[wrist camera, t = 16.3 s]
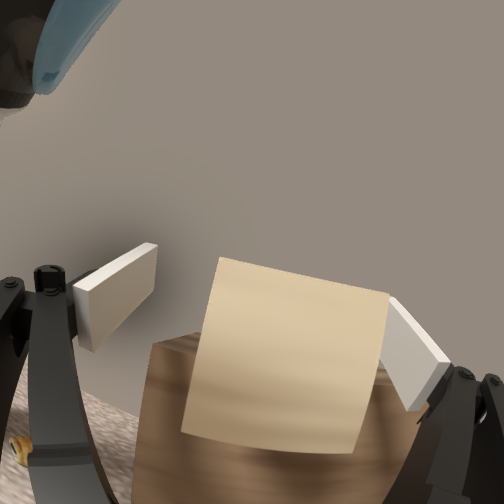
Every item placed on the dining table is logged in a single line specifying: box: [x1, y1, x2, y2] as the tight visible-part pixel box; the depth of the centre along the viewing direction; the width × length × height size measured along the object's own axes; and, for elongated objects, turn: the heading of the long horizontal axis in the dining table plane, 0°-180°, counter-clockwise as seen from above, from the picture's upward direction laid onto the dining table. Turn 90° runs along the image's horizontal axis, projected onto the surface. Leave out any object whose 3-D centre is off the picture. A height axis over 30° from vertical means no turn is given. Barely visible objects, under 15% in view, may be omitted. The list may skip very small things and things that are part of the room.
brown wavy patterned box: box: [131, 332, 429, 504], centre depth 22 cm, size 20×24×31 cm
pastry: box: [9, 435, 33, 468], centre depth 22 cm, size 9×7×4 cm
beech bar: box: [181, 257, 390, 454], centre depth 21 cm, size 32×4×4 cm, turn 3°
